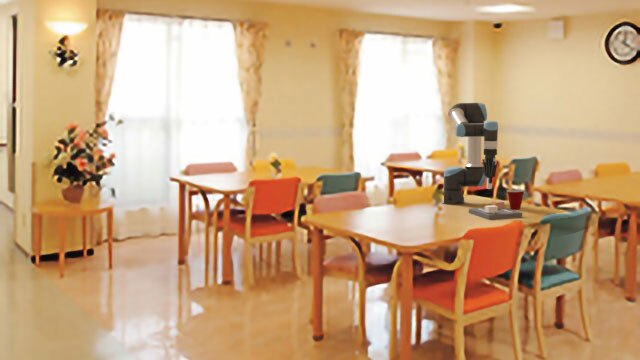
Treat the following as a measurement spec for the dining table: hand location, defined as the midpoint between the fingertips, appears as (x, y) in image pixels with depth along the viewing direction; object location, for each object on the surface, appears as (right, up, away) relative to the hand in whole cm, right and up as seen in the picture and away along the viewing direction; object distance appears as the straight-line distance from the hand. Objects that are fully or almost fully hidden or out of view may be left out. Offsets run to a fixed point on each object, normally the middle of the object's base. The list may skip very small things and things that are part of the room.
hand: (489, 188), depth 376 cm
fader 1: (0, -13, -3) cm, 14 cm away
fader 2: (+8, -11, +11) cm, 18 cm away
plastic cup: (+22, -13, +22) cm, 34 cm away
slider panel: (+4, -15, +4) cm, 17 cm away
